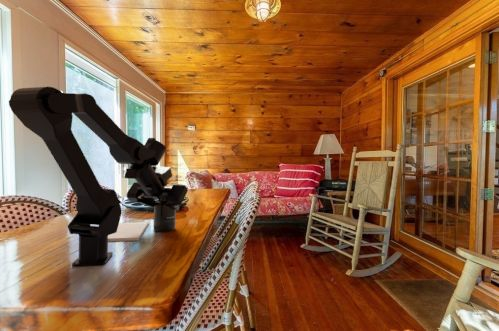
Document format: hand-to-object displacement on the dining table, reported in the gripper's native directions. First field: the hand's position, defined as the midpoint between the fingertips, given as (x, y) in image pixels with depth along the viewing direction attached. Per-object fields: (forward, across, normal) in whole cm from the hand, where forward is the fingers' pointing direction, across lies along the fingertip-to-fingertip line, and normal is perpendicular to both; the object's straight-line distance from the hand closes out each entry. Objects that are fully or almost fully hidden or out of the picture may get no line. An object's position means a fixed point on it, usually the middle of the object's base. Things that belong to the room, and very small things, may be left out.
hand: (167, 208), depth 89 cm
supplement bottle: (+4, 0, +6) cm, 7 cm away
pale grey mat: (-2, +10, +11) cm, 15 cm away
